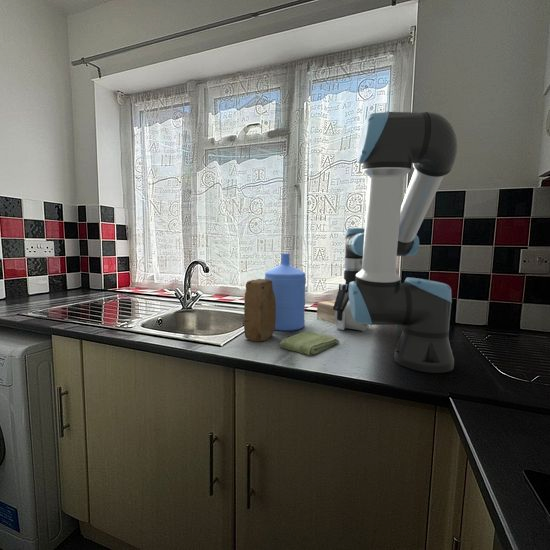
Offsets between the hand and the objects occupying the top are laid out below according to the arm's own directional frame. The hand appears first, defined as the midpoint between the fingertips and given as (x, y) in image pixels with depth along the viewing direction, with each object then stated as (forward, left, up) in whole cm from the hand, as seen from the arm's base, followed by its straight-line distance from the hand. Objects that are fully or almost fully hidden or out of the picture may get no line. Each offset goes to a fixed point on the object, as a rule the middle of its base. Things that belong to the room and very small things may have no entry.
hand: (352, 326), depth 127 cm
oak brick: (+7, +13, -1) cm, 15 cm away
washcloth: (-27, -6, -1) cm, 28 cm away
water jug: (-20, +17, -1) cm, 26 cm away
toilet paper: (0, 0, -1) cm, 1 cm away
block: (-36, +9, -1) cm, 37 cm away
